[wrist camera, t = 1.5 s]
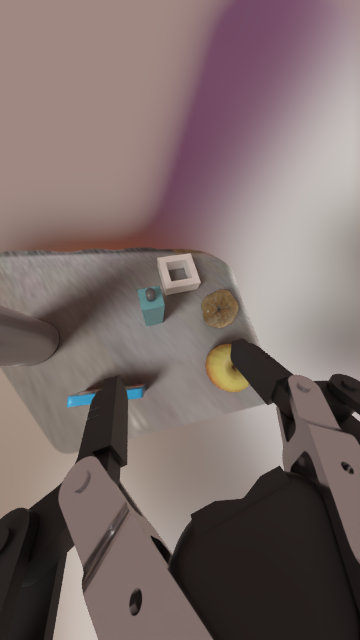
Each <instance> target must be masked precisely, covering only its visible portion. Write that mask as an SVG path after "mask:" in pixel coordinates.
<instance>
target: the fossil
mask: <svg viewBox="0 0 360 640" xmlns="http://www.w3.org/2000/svg"><path fill="white" fill-rule="evenodd" d="M201 306H202V311H203V319H204V321H205V323H206V324H207V325H209V326H211V327H216V328H223V327H225V326H227V325H229V324H231V323H232V322H233V320H234V319H235V317H236V316H237V313H238V303H237V301H236V300H235V299H234V298H233V296H232V294H231V292H230V291H228V290H218V291H216V292H214V293H212V294H210V295H208V296H206V297H205V298H204V300H203V301H202V305H201Z"/></svg>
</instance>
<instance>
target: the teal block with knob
mask: <svg viewBox="0 0 360 640" xmlns="http://www.w3.org/2000/svg"><path fill="white" fill-rule="evenodd" d="M137 292H138V296H139V300H140V305H141V309H142V313H143V316H144V319H145V323H146V326H150V325H154V324H159V323H163V317H164V309H165V304H164V301H163V297H162V293H161V290H160V286H155V287H150V288H144V289H138V290H137Z"/></svg>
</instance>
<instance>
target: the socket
mask: <svg viewBox="0 0 360 640" xmlns="http://www.w3.org/2000/svg"><path fill="white" fill-rule="evenodd" d="M157 267H158V270H159V274H160V277H161V281H162V285H163V288H164V292H165V295H170V294H175V293H180V292H186V291H191V290H196V289H198V287H199V285H200V283H201V282H200V279H199V276H198V273H197V270H196V268H195V265H194V262H193V259H192V256H191V253H189V254H182V255H174V256H166V257H159V258H157ZM180 268H184V269H185V272H186V275H187V278H188V279H183V280H177V281H171V279H170V276H169V272H168V270H173V269H180Z"/></svg>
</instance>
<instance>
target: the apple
mask: <svg viewBox="0 0 360 640" xmlns="http://www.w3.org/2000/svg"><path fill="white" fill-rule="evenodd" d="M230 354H231V344H224V345H219V346H217V347H215V348H214V349H213V350H211V351H210V353H209V354H208V356H207V358H206V364H205V366H206V372H207V375H208V377H209V378H210V380H211V382H212V383H213V384H215V385H216V386H217V387H218V388H220V389H222V390H225V391H228V392H240V391H241V390H243V389H245V388H247V387H248V385H249V383H248V381H247V380H246V379H245V378H244V377H243V376H242V374H241V373H240V372H239V371H238V370H237V368H236V367H235V366H234V365H233V363H232V362H231V359H230Z"/></svg>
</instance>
